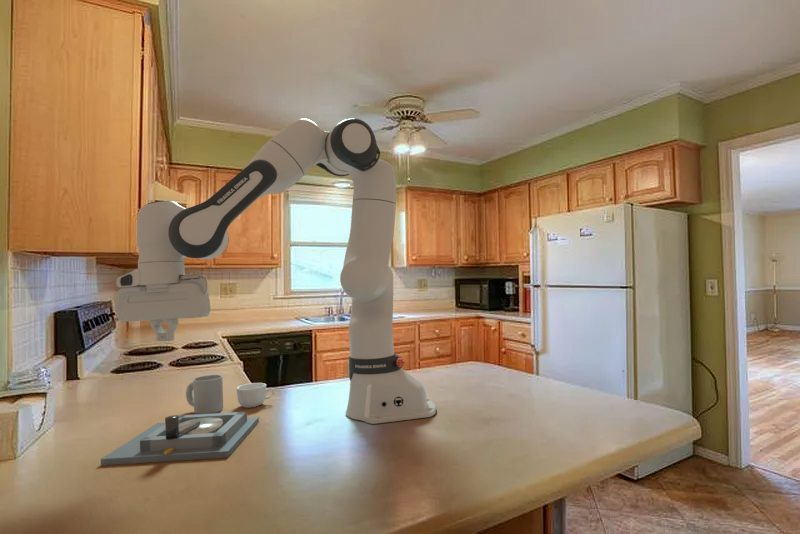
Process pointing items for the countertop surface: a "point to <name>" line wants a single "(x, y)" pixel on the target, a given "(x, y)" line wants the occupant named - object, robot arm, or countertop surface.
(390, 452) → the countertop surface
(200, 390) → the cup
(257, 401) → the teacup
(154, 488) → the countertop surface
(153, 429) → the panel
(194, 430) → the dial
